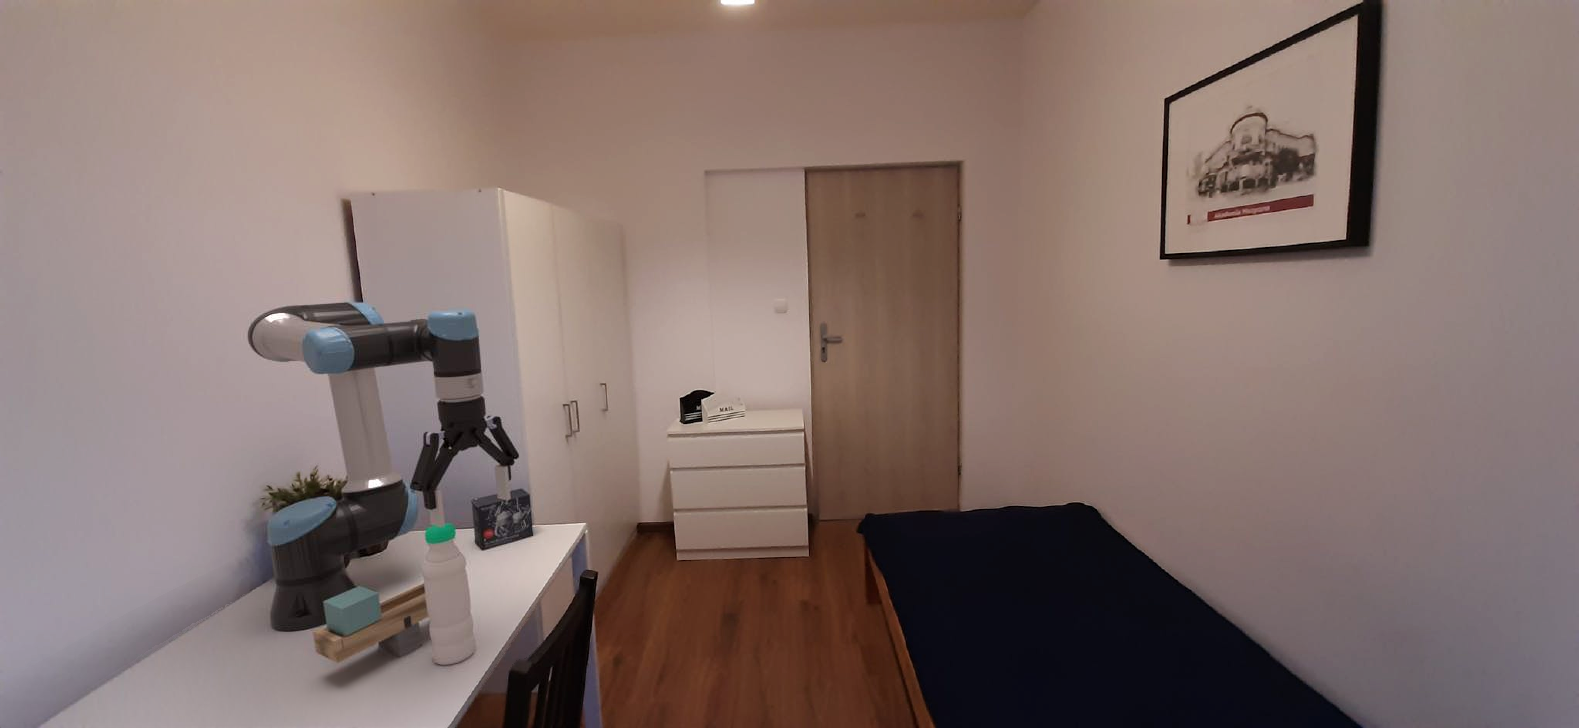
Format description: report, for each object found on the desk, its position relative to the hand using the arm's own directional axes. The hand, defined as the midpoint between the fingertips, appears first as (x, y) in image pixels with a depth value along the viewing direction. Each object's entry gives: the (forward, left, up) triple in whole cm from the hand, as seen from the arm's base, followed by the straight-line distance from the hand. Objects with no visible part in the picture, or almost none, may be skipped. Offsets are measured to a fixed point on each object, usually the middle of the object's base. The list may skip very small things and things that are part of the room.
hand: (472, 511), depth 116 cm
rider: (-15, -15, -20) cm, 29 cm away
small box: (-40, +34, -27) cm, 59 cm away
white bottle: (-3, -5, -27) cm, 27 cm away
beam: (-15, -8, -27) cm, 32 cm away
